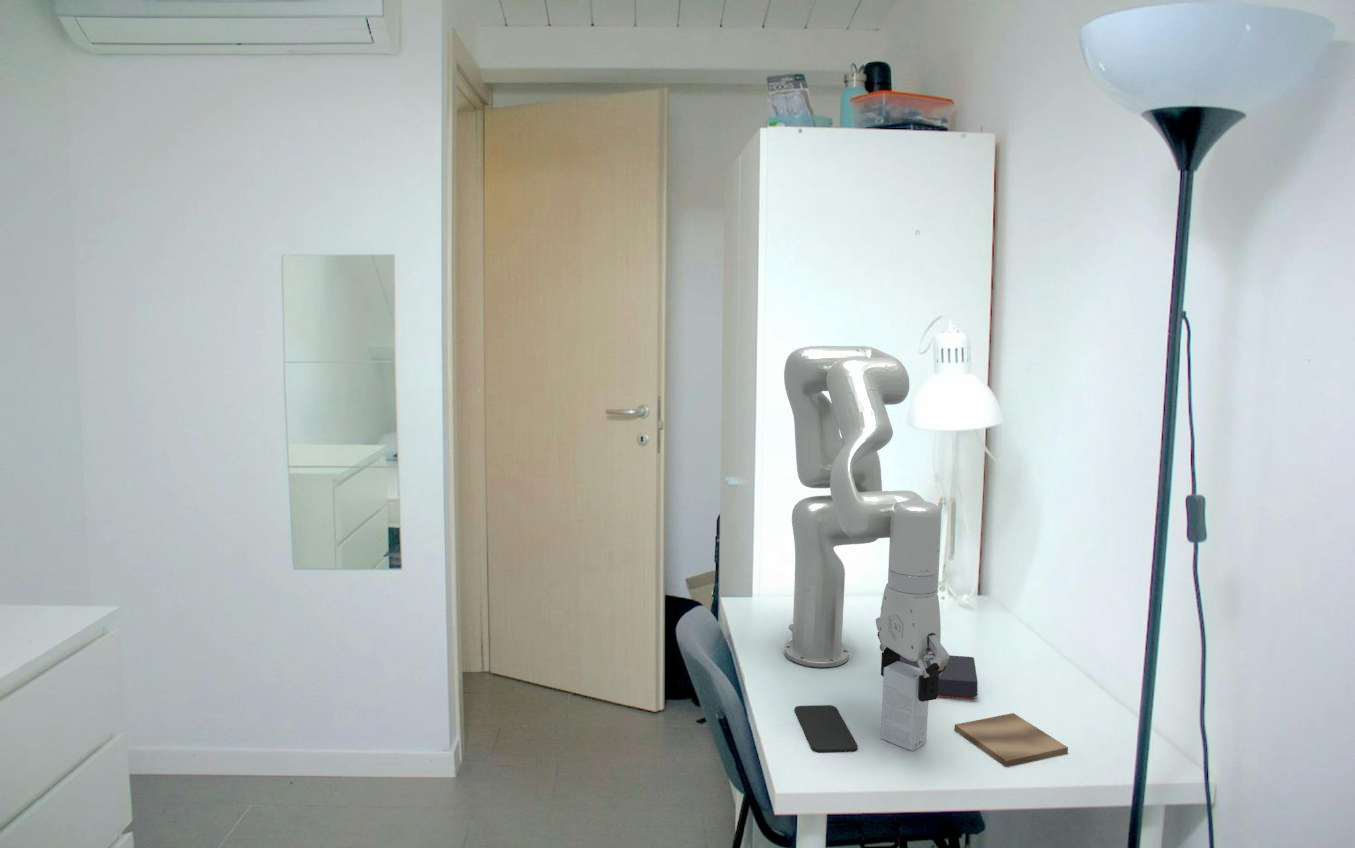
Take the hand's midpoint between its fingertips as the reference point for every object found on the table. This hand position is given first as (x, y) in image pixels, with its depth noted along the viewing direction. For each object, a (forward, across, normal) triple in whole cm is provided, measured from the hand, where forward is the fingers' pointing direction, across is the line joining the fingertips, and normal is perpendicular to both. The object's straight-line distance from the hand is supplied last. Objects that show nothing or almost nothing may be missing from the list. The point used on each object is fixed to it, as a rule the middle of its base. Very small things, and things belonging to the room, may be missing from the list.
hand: (908, 687), depth 141 cm
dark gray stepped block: (+5, -16, +17) cm, 24 cm away
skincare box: (+10, -1, 0) cm, 10 cm away
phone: (+10, -9, -10) cm, 16 cm away
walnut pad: (+9, +5, +16) cm, 19 cm away
